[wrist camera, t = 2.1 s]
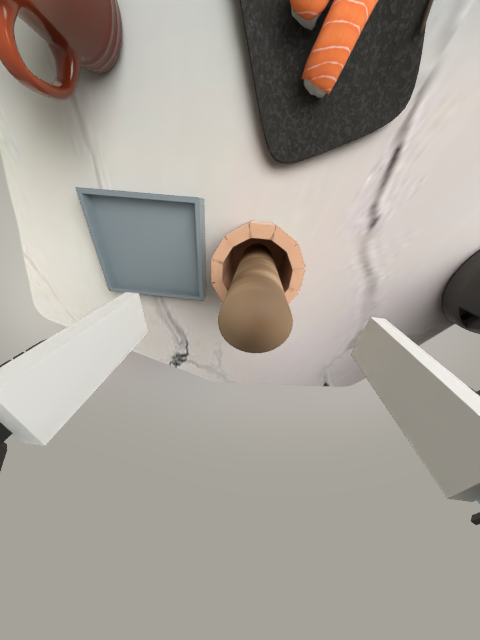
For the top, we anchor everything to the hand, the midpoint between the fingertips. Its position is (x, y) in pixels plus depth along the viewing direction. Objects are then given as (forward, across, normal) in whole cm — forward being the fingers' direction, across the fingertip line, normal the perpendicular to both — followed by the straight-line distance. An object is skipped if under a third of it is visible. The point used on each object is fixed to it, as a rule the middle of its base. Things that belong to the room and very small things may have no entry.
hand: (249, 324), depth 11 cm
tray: (+19, +16, 0) cm, 25 cm away
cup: (+19, 0, 0) cm, 19 cm away
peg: (+18, 0, 0) cm, 18 cm away
